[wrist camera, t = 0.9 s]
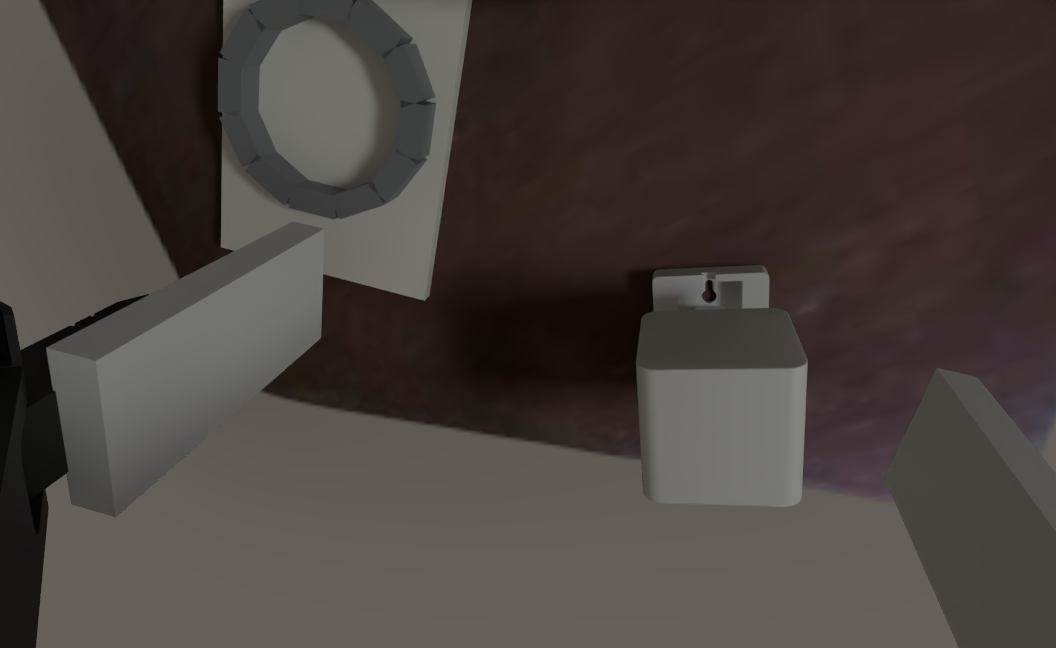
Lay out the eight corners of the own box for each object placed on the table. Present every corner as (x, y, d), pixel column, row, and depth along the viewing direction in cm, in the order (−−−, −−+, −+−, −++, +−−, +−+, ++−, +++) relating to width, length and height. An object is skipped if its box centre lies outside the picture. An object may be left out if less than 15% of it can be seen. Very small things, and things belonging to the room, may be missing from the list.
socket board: (234, -123, 32) (202, -135, 30) (482, -73, 31) (468, -82, 28) (229, 243, 39) (203, 255, 37) (429, 295, 38) (414, 311, 36)
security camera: (650, 392, 38) (642, 504, 29) (644, 270, 35) (633, 349, 26) (772, 391, 36) (804, 509, 27) (775, 264, 34) (812, 346, 25)
